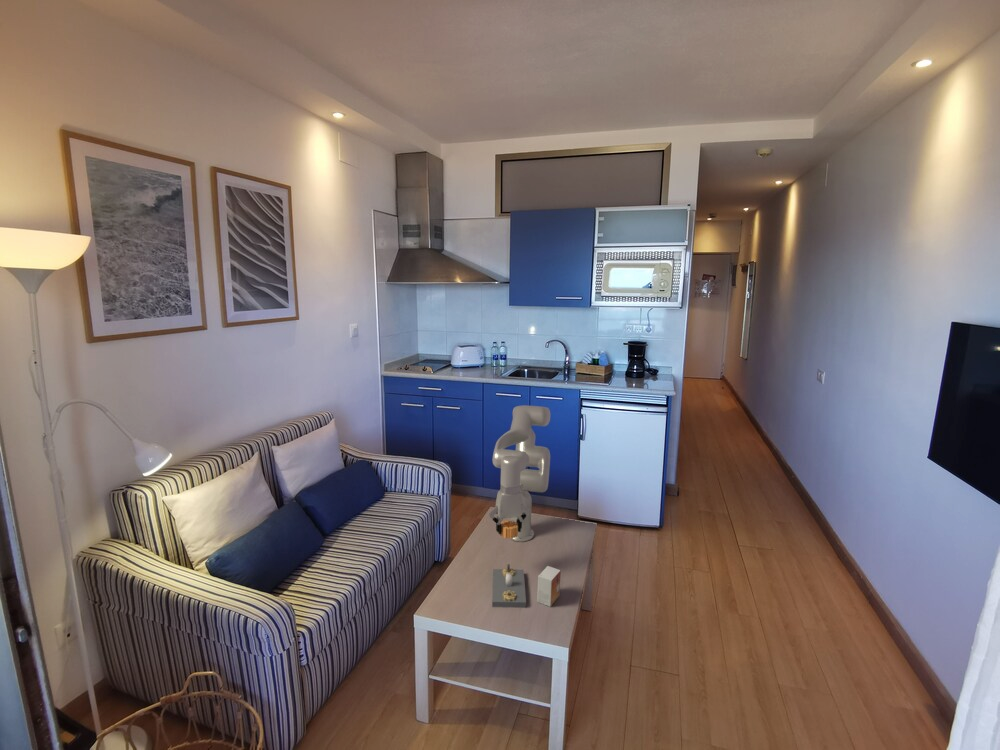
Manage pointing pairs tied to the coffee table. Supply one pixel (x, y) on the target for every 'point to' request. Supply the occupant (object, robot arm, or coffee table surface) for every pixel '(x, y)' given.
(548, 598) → the small box
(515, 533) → the gear
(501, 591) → the board
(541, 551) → the coffee table surface
